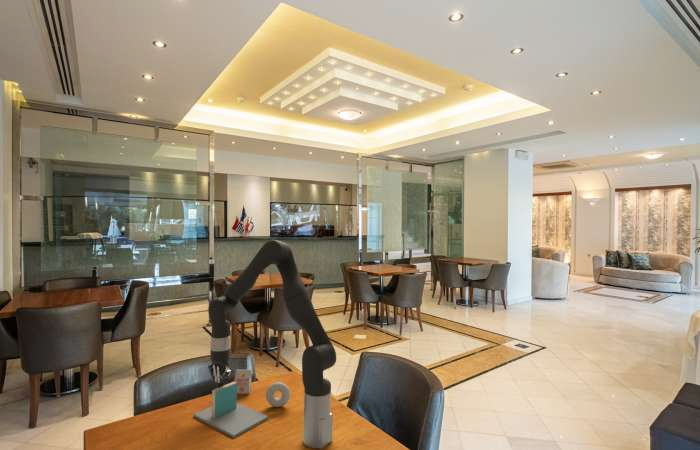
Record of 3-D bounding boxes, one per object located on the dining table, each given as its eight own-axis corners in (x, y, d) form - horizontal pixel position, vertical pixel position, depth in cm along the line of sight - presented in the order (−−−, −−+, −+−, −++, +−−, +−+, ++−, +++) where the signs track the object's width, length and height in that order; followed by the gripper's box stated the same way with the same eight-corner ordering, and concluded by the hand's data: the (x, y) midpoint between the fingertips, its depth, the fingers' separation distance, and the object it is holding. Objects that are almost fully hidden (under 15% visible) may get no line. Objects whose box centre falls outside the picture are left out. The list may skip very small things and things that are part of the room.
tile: (236, 407, 146) (237, 382, 146) (214, 418, 138) (215, 391, 138) (233, 406, 147) (233, 381, 147) (211, 416, 139) (212, 390, 139)
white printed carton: (235, 390, 164) (236, 368, 164) (251, 390, 164) (251, 368, 164) (233, 394, 160) (234, 371, 160) (249, 394, 161) (249, 371, 161)
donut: (290, 404, 152) (291, 380, 152) (289, 409, 148) (289, 384, 148) (266, 404, 152) (267, 380, 152) (264, 408, 148) (265, 384, 148)
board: (268, 418, 140) (268, 416, 140) (233, 438, 127) (233, 435, 127) (228, 401, 154) (228, 398, 154) (193, 416, 141) (193, 414, 141)
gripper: (239, 348, 144) (238, 392, 144) (218, 341, 152) (217, 383, 151) (223, 353, 138) (222, 399, 138) (202, 346, 145) (201, 390, 145)
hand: (219, 391), depth 145 cm, fingers closed
